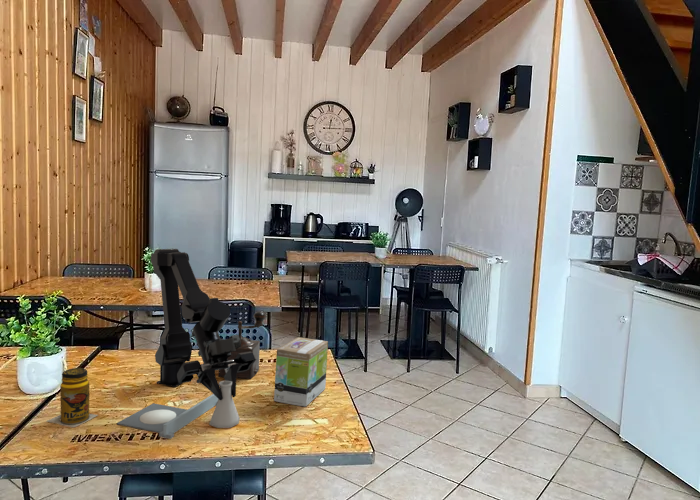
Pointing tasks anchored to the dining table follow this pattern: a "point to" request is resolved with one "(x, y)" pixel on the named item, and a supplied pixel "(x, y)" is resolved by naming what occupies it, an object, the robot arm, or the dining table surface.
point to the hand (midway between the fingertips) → (228, 397)
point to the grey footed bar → (188, 416)
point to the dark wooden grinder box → (247, 348)
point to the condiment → (74, 398)
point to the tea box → (300, 371)
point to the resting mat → (152, 417)
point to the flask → (225, 408)
